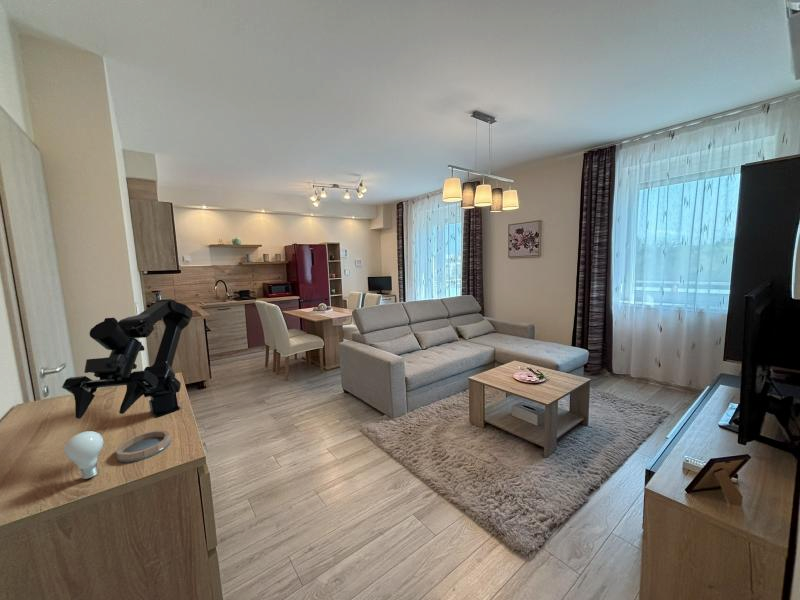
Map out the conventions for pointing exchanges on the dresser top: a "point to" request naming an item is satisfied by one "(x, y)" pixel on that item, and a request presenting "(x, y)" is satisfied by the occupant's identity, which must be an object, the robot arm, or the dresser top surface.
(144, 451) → the round dish
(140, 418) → the dresser top surface
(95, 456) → the lightbulb
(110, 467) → the dresser top surface
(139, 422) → the dresser top surface
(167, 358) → the robot arm
